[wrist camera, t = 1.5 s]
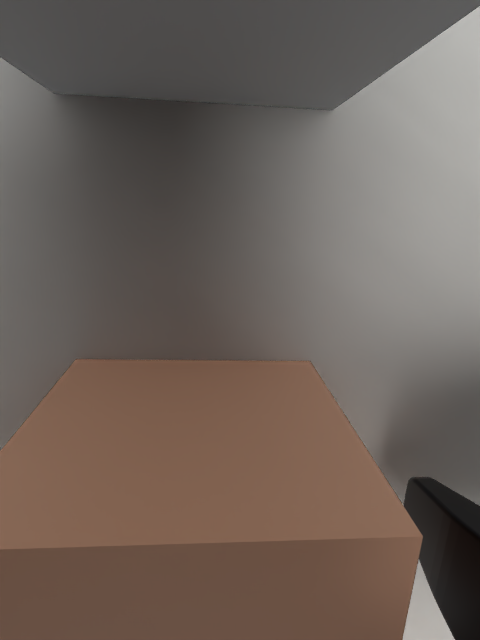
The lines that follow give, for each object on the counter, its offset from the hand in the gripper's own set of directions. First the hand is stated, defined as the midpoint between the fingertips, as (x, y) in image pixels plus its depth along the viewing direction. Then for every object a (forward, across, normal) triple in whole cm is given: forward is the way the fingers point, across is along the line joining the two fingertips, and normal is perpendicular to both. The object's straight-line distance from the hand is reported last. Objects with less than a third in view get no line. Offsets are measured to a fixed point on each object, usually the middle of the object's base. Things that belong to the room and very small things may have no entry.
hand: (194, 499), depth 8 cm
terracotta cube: (+1, 0, 0) cm, 1 cm away
